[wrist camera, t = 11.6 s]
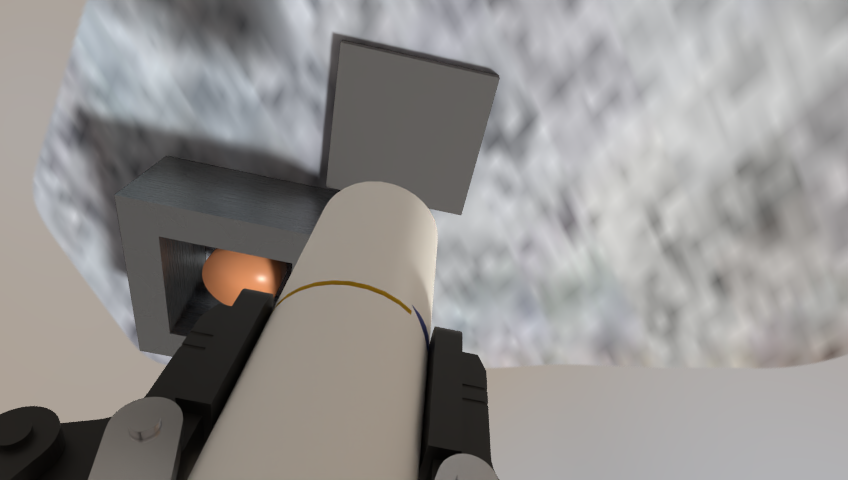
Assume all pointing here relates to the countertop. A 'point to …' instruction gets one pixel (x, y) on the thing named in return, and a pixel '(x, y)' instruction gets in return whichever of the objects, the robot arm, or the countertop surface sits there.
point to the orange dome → (240, 274)
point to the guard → (202, 237)
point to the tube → (339, 353)
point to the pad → (408, 124)
